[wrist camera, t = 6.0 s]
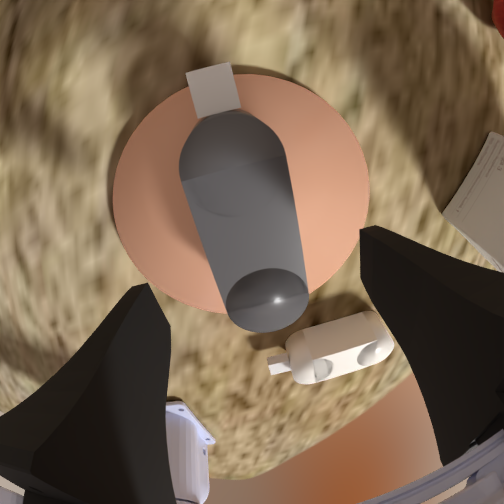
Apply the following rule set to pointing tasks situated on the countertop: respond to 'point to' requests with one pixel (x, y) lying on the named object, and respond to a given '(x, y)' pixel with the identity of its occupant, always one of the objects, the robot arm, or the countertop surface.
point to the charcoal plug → (243, 206)
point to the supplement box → (482, 203)
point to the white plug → (334, 348)
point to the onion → (498, 15)
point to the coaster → (301, 174)
